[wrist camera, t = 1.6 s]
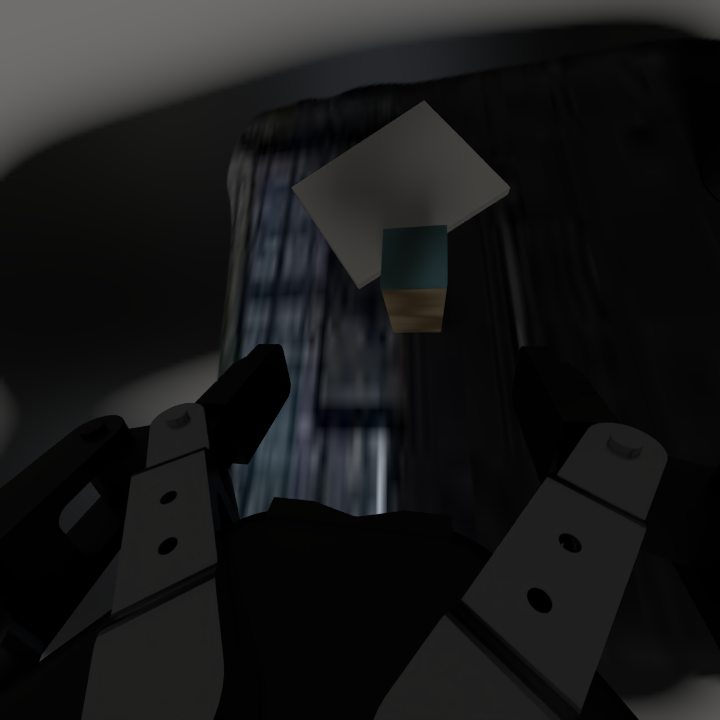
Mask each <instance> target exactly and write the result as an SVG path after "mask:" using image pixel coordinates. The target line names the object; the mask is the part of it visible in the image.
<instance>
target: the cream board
mask: <svg viewBox="0 0 720 720" xmlns="http://www.w3.org/2000/svg"><path fill="white" fill-rule="evenodd" d="M292 189H293V191H294V193H295V195H296V196H297V198H298V199H299V201H300V202H301V204H302V205H303V207H304V208H305V210H306V211H307V213H308V214H309V216H310V217H311V219H312V220H313V221H314V223H315V224H316V226H317V227H318V229H319V230H320V232H321V233H322V235H323V236H324V238H325V239H326V241H327V242H328V244H329V245H330V247H331V248H332V250H333V251H334V253H335V254H336V256H337V257H338V259H339V260H340V262H341V263H342V265H343V266H344V268H345V269H346V271H347V272H348V274H349V275H350V277H351V278H352V280H353V281H354V283H355V284H356V286H357V287H358V289H360V288H362V287H363V286H365V285H366V284H368V283H369V282H371V281H373V280H374V279H376V278H377V277H379V276H380V275H381V261H382V241H383V229H391V228H405V227H420V226H435V225H447V233H448V232H449V231H451V230H452V229H454V228H456V227H457V226H459V225H460V224H462V223H463V222H465V221H467V220H468V219H470V218H471V217H473V216H474V215H476V214H478V213H479V212H481V211H482V210H484V209H485V208H487V207H489V206H490V205H492V204H493V203H495V202H496V201H498V200H499V199H501V198H503V197H504V196H506V195H507V194H508V193H509V190H510V187H509V186H508V185H507V184H506V183H505V182H504V181H503V180H502V179H501V178H500V177H499V176H498V175H497V174H496V173H495V172H494V171H493V170H492V169H491V168H490V167H489V166H488V165H487V164H486V163H485V162H484V160H483V159H482V158H481V157H480V156H479V155H478V154H477V153H476V152H475V151H474V150H473V149H472V148H471V147H470V146H469V145H468V144H467V143H466V142H465V141H464V140H463V139H462V138H461V137H460V136H459V135H458V134H457V133H456V132H455V131H454V130H453V129H452V128H451V127H450V126H449V125H448V124H447V123H446V122H445V121H444V120H443V119H442V118H441V117H440V116H439V115H438V114H437V113H436V112H435V111H434V110H433V109H432V108H431V107H430V106H429V105H428V104H427V103H426V102H425V101H423V102H421V103H420V104H418V105H416V106H415V107H413V108H412V109H410V110H409V111H407V112H406V113H404V114H403V115H401V116H400V117H398V118H397V119H395V120H394V121H392V122H391V123H389V124H387V125H386V126H384V127H383V128H381V129H380V130H378V131H377V132H375V133H374V134H372V135H371V136H369V137H368V138H366V139H365V140H363V141H362V142H360V143H358V144H357V145H355V146H354V147H352V148H351V149H349V150H348V151H346V152H345V153H343V154H342V155H340V156H339V157H337V158H336V159H334V160H333V161H331V162H329V163H328V164H326V165H325V166H323V167H322V168H320V169H319V170H317V171H316V172H314V173H313V174H311V175H310V176H308V177H307V178H305V179H304V180H302V181H300V182H299V183H297V184H296V185H294V186H293V187H292Z"/></svg>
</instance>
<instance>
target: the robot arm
mask: <svg viewBox="0 0 720 720" xmlns="http://www.w3.org/2000/svg"><path fill="white" fill-rule="evenodd" d="M702 172H703V179H704V182H705V185H706V186H707V188H708V189H709V191H710V192H711V193H712V194H713V195H714V196H715V197H716V198H717V199H719V200H720V143H719V144H718V145H717V146H716V147H715V148H714V149H713V150H712V151H711V152H710V153H709V154H708V156H707V158H706V159H705V161H704V164H703V168H702ZM290 388H291V383H290V377H289V373H288V369H287V364H286V360H285V355H284V351H283V348H282V346H281V345H280V344H258V345H257V346H256V347H255V348H254V349H253V350H252V351H251V352H250V353H249V354H248V355H247V356H246V357H244V358H243V359H241V360H239V361H237V362H236V363H234V364H233V365H232V366H231V367H230V368H229V369H228V370H227V371H226V372H225V374H223V375H222V376H221V377H220V378H219V379H218V381H217V382H215V383H214V384H213V385H212V386H211V387H210V388H209V389H208V390H207V391H206V392H205V393H204V394H203V395H202V396H201V397H200V398H199V399H198V400H197V401H196V402H195V403H185V404H181V405H177V406H174V407H172V408H170V409H168V410H166V411H164V412H162V413H161V414H159V415H158V416H157V417H156V418H155V419H154V420H153V421H152V423H151V425H149V426H143V427H138V428H131V429H129V428H128V427H127V425H126V423H125V421H124V420H123V418H122V417H120V416H117V415H109V416H104V417H100V418H96V419H94V420H91V421H89V422H87V423H85V424H83V425H81V426H79V427H78V428H76V429H75V430H73V431H72V432H71V433H69V434H68V435H67V436H66V437H64V438H63V439H62V440H61V441H60V442H58V443H57V444H56V445H54V446H53V447H52V448H51V449H49V450H48V451H47V452H46V453H44V454H43V455H42V456H40V457H39V458H38V459H37V460H35V461H34V462H33V463H32V464H30V465H29V466H28V467H27V468H26V469H24V470H23V471H22V472H20V473H19V474H18V475H17V476H15V477H14V478H13V479H12V480H10V481H9V482H8V483H7V484H5V485H4V486H3V487H2V488H0V720H638V718H637V717H636V716H635V715H634V714H633V712H632V711H631V710H630V709H629V708H628V707H627V706H626V705H625V703H624V702H623V701H622V700H621V698H620V697H619V696H618V695H617V694H616V693H615V692H614V690H613V689H612V688H611V687H610V686H609V685H608V683H607V682H606V681H605V680H604V679H603V678H602V676H601V675H600V674H599V673H598V672H597V671H596V668H597V665H598V662H599V659H600V657H601V654H602V651H603V648H604V646H605V643H606V640H607V637H608V634H609V632H610V629H611V626H612V623H613V621H614V618H615V615H616V612H617V609H618V607H619V604H620V601H621V598H622V596H623V593H624V590H625V587H626V585H627V582H628V579H629V576H630V573H631V571H632V568H633V565H634V562H635V560H636V557H637V554H638V551H639V549H640V550H643V551H646V552H649V553H651V554H654V555H657V556H660V557H662V558H665V559H668V560H671V562H672V564H673V566H674V567H675V569H676V571H677V573H678V575H679V577H680V578H681V580H682V582H683V584H684V586H685V587H686V589H687V591H688V593H689V595H690V597H691V598H692V600H693V602H694V604H695V606H696V607H697V609H698V611H699V613H700V615H701V617H702V618H703V620H704V622H705V624H706V626H707V627H708V629H709V631H710V633H711V635H712V637H713V638H714V640H715V642H716V644H717V646H718V647H719V649H720V464H719V466H718V467H717V469H716V468H712V467H708V466H704V465H700V464H696V463H692V462H688V461H684V460H680V459H676V458H673V457H669V456H667V453H666V451H665V449H664V448H663V447H662V445H661V444H659V443H658V442H657V441H656V440H655V439H654V438H652V437H651V436H649V435H647V434H646V433H644V432H642V431H640V430H637V429H635V428H632V427H629V426H626V425H622V424H621V423H620V422H619V421H618V419H617V418H616V417H615V415H614V414H613V413H612V411H611V410H610V409H609V407H608V406H607V405H606V403H605V402H604V401H603V399H602V398H601V397H600V395H597V391H596V390H595V388H594V387H593V386H592V385H590V382H589V380H588V379H587V378H586V376H585V375H584V374H583V372H581V371H580V370H578V369H577V368H575V367H574V366H572V365H570V364H569V363H560V362H559V361H558V359H557V358H556V356H555V355H554V353H553V352H552V350H551V349H550V348H549V347H529V346H522V347H521V348H520V350H519V353H518V359H517V364H516V370H515V375H514V381H513V386H512V404H513V408H514V411H515V413H516V416H517V419H518V422H519V425H520V428H521V430H522V433H523V436H524V439H525V442H526V444H527V447H528V450H529V453H530V456H531V459H532V461H533V464H534V467H535V470H536V473H537V476H538V478H539V481H540V484H541V486H540V488H539V489H538V491H537V492H536V494H535V495H534V496H533V498H532V499H531V501H530V502H529V504H528V505H527V506H526V508H525V509H524V511H523V512H522V514H521V515H520V516H519V518H518V519H517V521H516V522H515V524H514V525H513V526H512V528H511V529H510V531H509V532H508V534H507V535H506V536H505V538H504V539H503V541H502V542H501V544H500V545H499V546H498V548H497V549H496V551H495V552H494V554H492V553H491V552H490V551H488V550H487V549H486V548H484V547H483V546H481V545H480V544H478V543H477V542H475V541H473V540H471V539H469V538H467V537H465V536H463V535H461V534H459V533H456V532H453V531H452V517H451V516H450V515H441V514H431V513H422V512H412V511H398V512H390V513H383V514H375V515H367V516H358V517H357V516H352V515H349V514H347V513H344V512H341V511H339V510H336V509H333V508H331V507H328V506H326V505H323V504H320V503H318V502H315V501H307V500H298V499H288V498H279V497H274V499H273V501H272V503H271V505H270V507H269V509H268V511H266V512H261V513H257V514H254V515H251V516H248V517H245V518H243V519H241V520H240V517H239V512H238V507H237V502H236V497H235V492H234V487H233V482H232V477H231V474H230V472H229V468H230V466H231V465H232V463H236V464H247V465H248V463H249V462H250V460H251V458H252V457H253V455H254V453H255V452H256V450H257V448H258V447H259V445H260V443H261V442H262V440H263V438H264V437H265V435H266V433H267V432H268V430H269V428H270V427H271V425H272V423H273V422H274V420H275V418H276V417H277V415H278V413H279V412H280V410H281V408H282V407H283V405H284V403H285V402H286V400H287V398H288V397H289V394H290ZM89 482H91V483H92V484H93V486H94V487H95V489H96V490H97V491H98V493H99V494H100V495H101V497H100V498H99V499H98V500H97V501H96V502H95V503H94V505H93V506H92V507H91V508H90V509H89V510H88V511H87V512H86V513H85V514H84V515H83V517H81V519H80V520H79V521H78V522H77V523H76V524H75V525H74V526H73V527H72V528H71V529H70V530H69V532H68V533H67V534H65V533H64V532H63V531H62V530H61V529H60V527H59V517H60V514H61V512H62V510H63V509H64V507H65V506H66V505H67V504H68V503H69V502H70V501H71V500H72V499H73V498H74V497H75V496H76V495H77V494H78V493H79V492H80V491H81V490H82V489H83V488H84V487H85V486H86V485H87V484H88V483H89ZM120 549H121V553H120V559H119V566H118V573H117V580H116V586H115V593H114V600H113V607H112V610H110V611H109V612H107V613H106V614H105V615H103V616H102V617H101V618H99V619H98V620H96V621H95V622H94V623H92V624H91V625H89V626H88V627H87V628H85V629H84V630H83V631H81V632H80V633H78V634H77V635H76V636H74V637H73V638H72V639H70V640H69V641H67V642H66V643H65V644H63V645H62V646H61V647H59V648H58V649H56V650H55V651H54V652H52V653H51V654H49V655H48V656H47V657H45V658H44V659H43V660H41V661H40V662H39V660H40V658H41V655H42V653H43V652H44V651H45V649H46V648H47V647H48V645H49V644H50V643H51V641H52V640H53V639H54V637H55V636H56V635H57V633H58V632H59V631H60V629H61V628H62V627H63V625H64V624H65V623H66V621H67V620H68V619H69V617H70V616H71V615H72V613H73V612H74V610H75V609H76V608H77V606H78V605H79V604H80V602H81V601H82V600H83V598H84V597H85V596H86V594H87V593H88V592H89V590H90V589H91V588H92V586H93V585H94V584H95V582H96V581H97V580H98V578H99V577H100V576H101V574H102V573H103V572H104V570H105V569H106V567H107V566H108V565H109V563H110V562H111V561H112V559H113V558H114V557H115V555H116V554H117V553H118V551H119V550H120Z"/></svg>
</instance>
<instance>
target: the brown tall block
mask: <svg viewBox="0 0 720 720" xmlns="http://www.w3.org/2000/svg"><path fill="white" fill-rule="evenodd" d="M380 286H381V290H382V294H383V297H384V301H385V304H386V308H387V311H388V315H389V318H390V322H391V325H392V329H393V332H441V326H442V318H443V311H444V304H445V297H446V290H447V225H435V226H420V227H405V228H391V229H383V241H382V261H381V282H380Z"/></svg>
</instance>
